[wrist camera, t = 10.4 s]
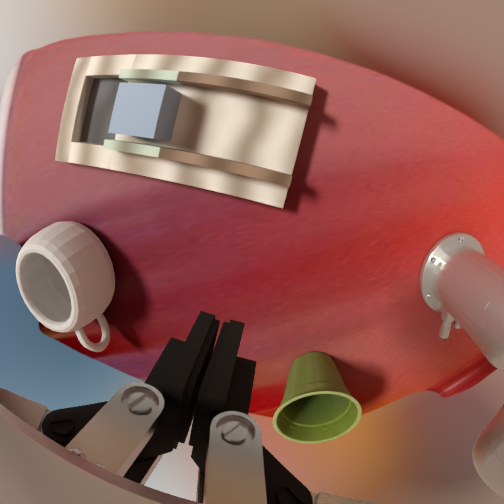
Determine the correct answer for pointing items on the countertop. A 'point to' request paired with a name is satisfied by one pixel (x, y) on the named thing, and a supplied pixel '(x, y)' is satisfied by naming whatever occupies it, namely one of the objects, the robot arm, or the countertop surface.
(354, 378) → the countertop surface
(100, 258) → the mug
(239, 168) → the tunnel board
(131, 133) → the slate block
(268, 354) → the countertop surface
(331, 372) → the plant pot
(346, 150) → the countertop surface
